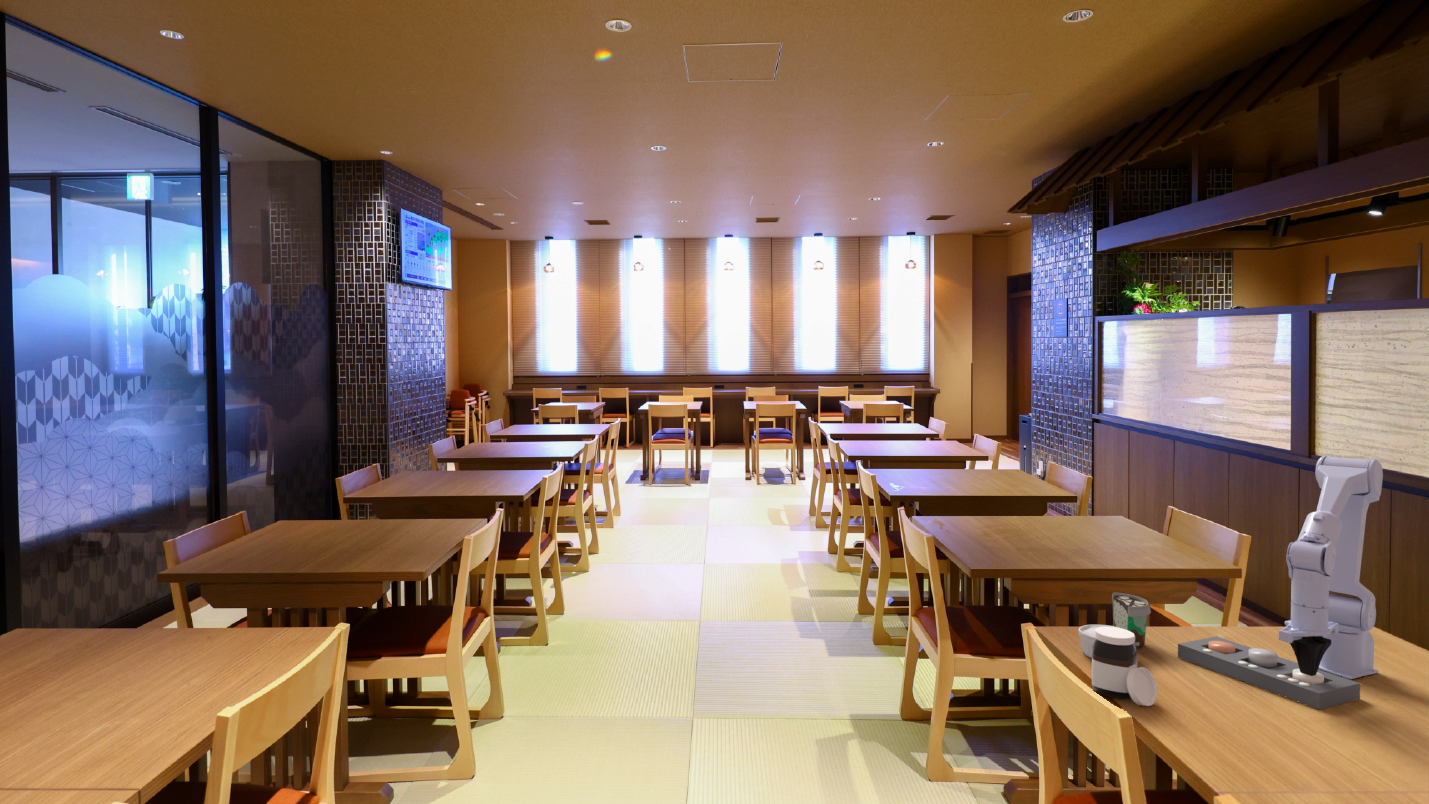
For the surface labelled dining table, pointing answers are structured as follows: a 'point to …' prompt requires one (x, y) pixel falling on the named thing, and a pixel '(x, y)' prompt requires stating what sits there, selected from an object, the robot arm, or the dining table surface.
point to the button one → (1222, 647)
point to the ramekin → (1089, 637)
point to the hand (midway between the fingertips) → (1308, 673)
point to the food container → (1131, 615)
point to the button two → (1262, 657)
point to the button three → (1308, 677)
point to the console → (1270, 674)
